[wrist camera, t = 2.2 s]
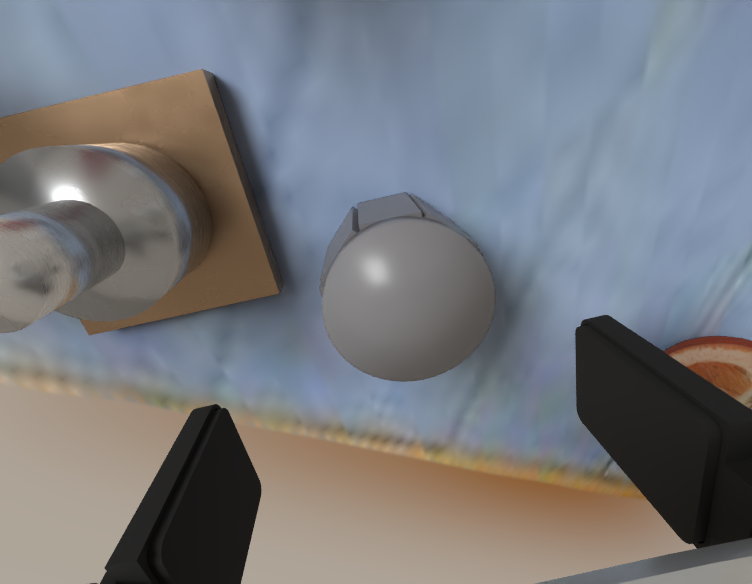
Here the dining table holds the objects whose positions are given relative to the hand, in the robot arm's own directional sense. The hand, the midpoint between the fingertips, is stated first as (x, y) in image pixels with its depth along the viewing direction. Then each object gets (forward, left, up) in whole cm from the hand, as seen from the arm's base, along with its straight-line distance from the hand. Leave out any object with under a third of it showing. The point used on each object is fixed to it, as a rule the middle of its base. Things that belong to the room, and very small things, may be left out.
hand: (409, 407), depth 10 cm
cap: (-1, 0, -11) cm, 11 cm away
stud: (+10, -5, -11) cm, 16 cm away
